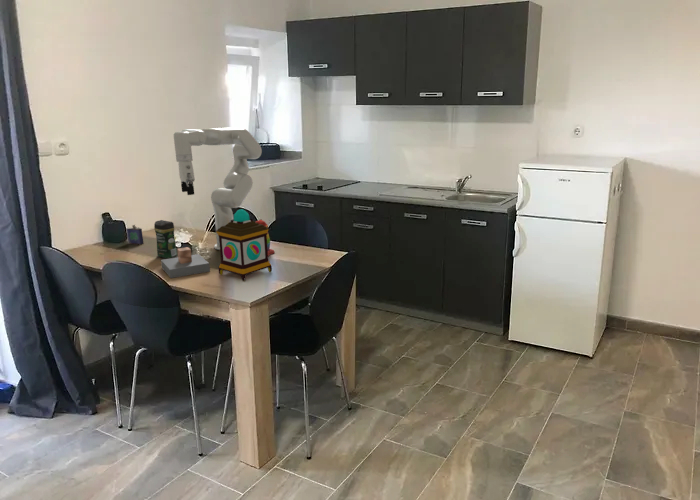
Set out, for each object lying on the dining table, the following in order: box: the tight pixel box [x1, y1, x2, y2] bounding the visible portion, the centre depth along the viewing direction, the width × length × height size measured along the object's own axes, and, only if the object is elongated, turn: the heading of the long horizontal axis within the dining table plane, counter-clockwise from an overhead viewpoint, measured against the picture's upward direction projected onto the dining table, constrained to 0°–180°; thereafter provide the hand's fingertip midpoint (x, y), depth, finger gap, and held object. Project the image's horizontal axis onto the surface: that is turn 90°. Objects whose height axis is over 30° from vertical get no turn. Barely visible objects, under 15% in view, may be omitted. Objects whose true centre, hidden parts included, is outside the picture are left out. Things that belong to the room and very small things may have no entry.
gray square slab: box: [160, 253, 211, 279], centre depth 273 cm, size 18×18×4 cm
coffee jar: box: [153, 219, 178, 259], centre depth 293 cm, size 10×8×19 cm
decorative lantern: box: [215, 208, 273, 282], centre depth 262 cm, size 20×20×30 cm
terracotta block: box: [176, 246, 192, 264], centre depth 272 cm, size 5×5×6 cm
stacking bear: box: [255, 219, 276, 258], centre depth 293 cm, size 11×10×18 cm
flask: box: [125, 224, 144, 246], centre depth 320 cm, size 9×3×11 cm, turn 76°
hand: (188, 193), depth 283 cm, fingers open, 9 cm apart
